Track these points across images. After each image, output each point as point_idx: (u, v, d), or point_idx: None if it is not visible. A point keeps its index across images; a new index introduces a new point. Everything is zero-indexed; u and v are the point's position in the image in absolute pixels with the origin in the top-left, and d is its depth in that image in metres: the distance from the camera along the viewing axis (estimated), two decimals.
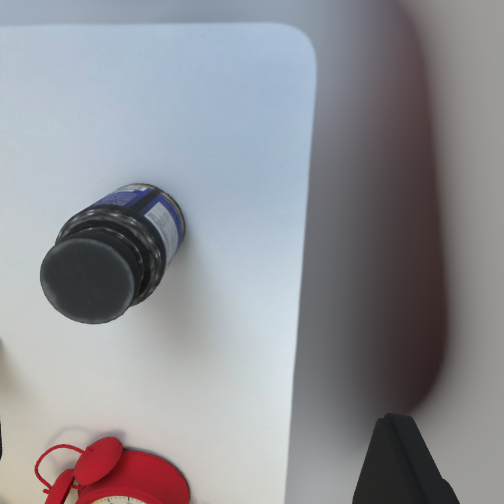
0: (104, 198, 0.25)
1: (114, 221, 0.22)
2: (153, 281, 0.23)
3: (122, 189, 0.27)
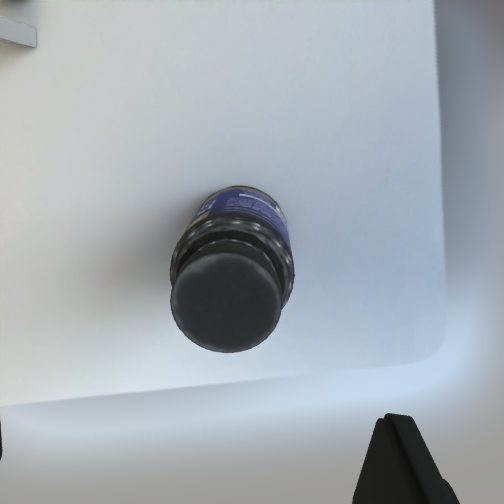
0: (285, 230, 0.22)
1: (284, 289, 0.19)
2: None
3: (286, 225, 0.25)
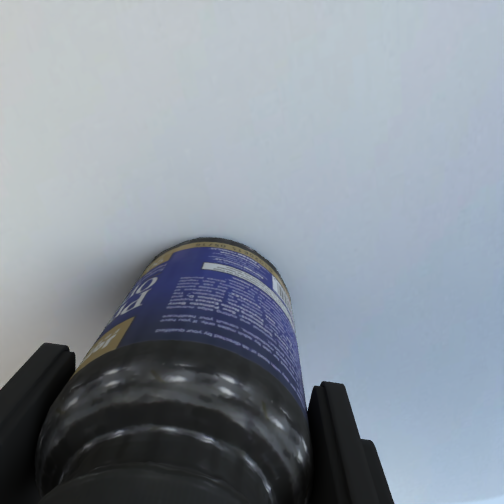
0: (290, 344, 0.11)
1: None
2: None
3: (290, 313, 0.14)
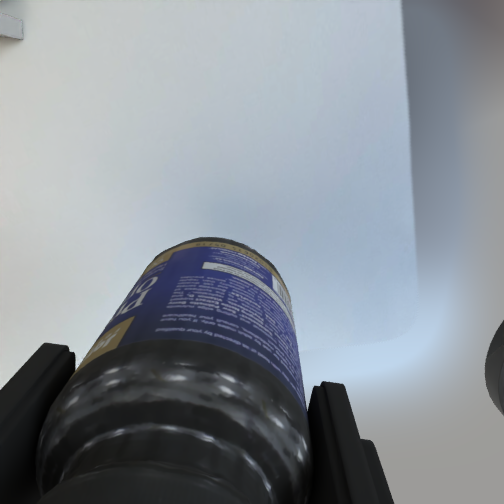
0: (290, 343, 0.11)
1: None
2: None
3: (290, 313, 0.14)
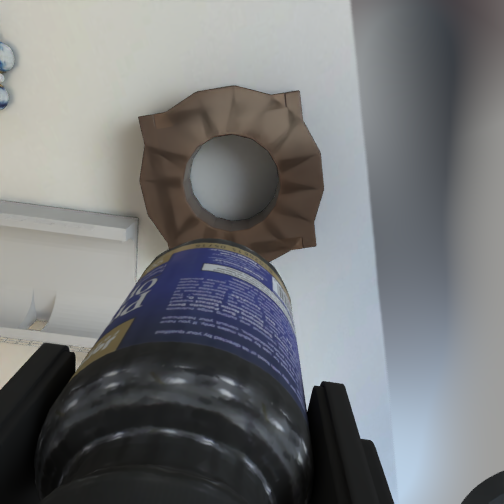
0: (290, 345, 0.11)
1: None
2: None
3: (290, 314, 0.14)
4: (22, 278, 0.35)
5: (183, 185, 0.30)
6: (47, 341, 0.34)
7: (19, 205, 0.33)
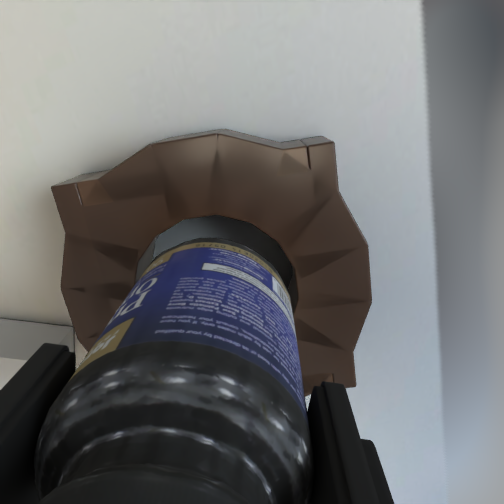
0: (290, 345, 0.11)
1: None
2: None
3: (290, 314, 0.14)
4: None
5: None
6: None
7: None
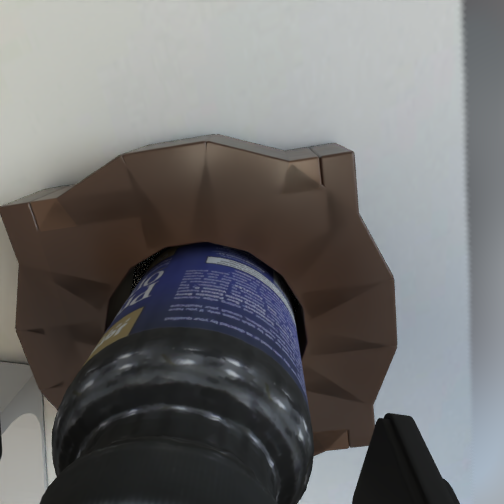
0: (291, 333, 0.12)
1: (294, 492, 0.09)
2: None
3: (290, 306, 0.14)
4: None
5: None
6: None
7: None
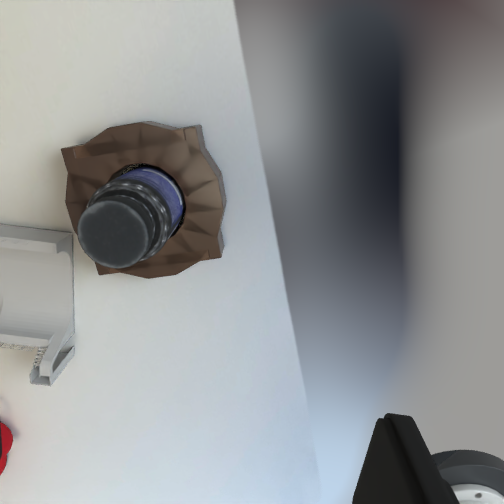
0: (171, 194, 0.32)
1: (161, 230, 0.29)
2: None
3: (179, 192, 0.34)
4: None
5: None
6: None
7: None
